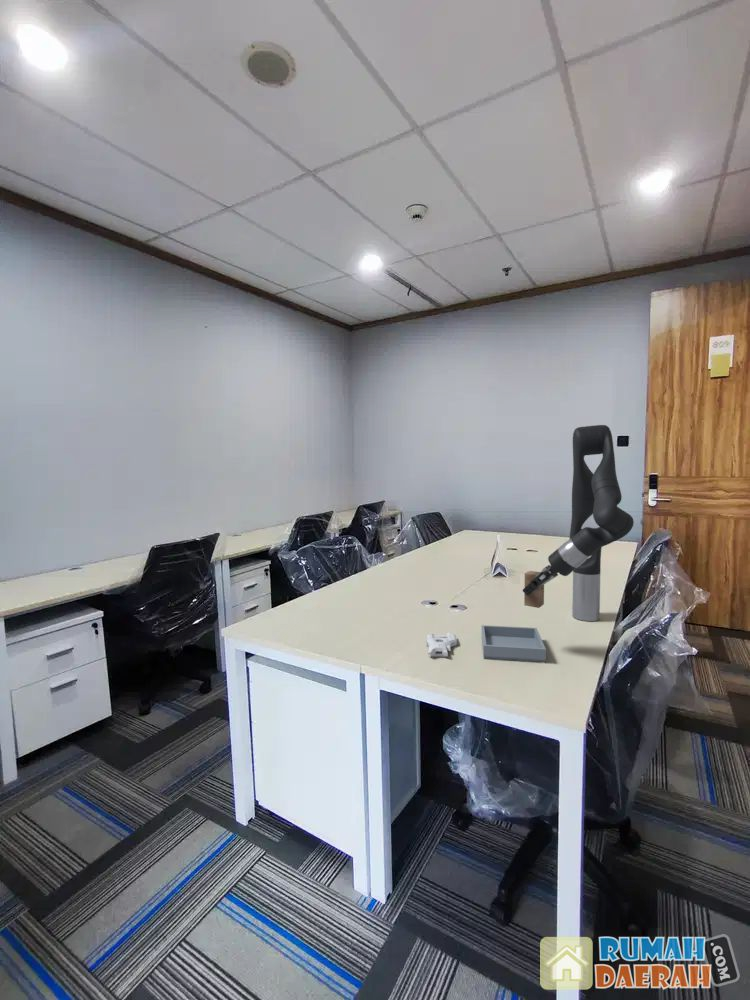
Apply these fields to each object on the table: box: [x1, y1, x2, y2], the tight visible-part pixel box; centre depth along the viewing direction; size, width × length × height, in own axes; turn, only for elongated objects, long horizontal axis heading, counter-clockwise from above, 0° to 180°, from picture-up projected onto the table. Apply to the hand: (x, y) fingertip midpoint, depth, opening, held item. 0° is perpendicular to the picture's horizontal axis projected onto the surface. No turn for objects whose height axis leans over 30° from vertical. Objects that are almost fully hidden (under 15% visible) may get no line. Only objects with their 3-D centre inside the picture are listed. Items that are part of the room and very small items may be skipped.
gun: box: [425, 632, 458, 658], centre depth 145 cm, size 18×3×10 cm
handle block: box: [523, 570, 545, 609], centre depth 142 cm, size 4×4×10 cm
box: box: [481, 624, 547, 663], centre depth 143 cm, size 18×18×4 cm
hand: (527, 590), depth 143 cm, fingers closed on handle block, 4 cm apart
